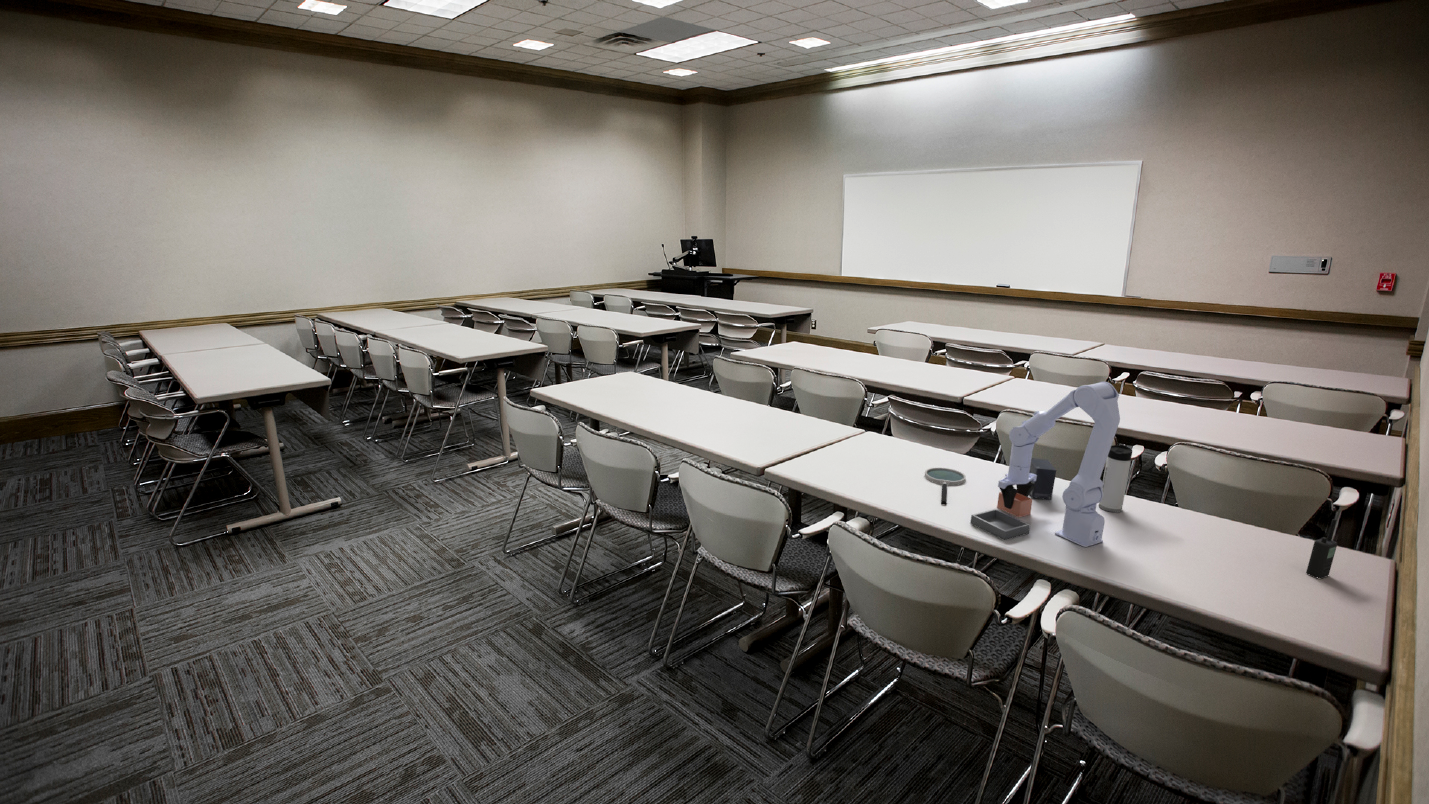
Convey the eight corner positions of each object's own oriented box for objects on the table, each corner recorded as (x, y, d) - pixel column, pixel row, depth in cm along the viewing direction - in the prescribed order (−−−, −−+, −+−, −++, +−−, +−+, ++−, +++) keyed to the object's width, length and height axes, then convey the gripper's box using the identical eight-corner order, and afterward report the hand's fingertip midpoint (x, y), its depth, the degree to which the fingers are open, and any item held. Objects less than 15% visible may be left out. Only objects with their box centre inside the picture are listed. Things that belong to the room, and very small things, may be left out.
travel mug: (1124, 508, 208) (1135, 447, 203) (1118, 514, 204) (1130, 452, 198) (1101, 502, 212) (1112, 442, 207) (1096, 508, 208) (1106, 447, 202)
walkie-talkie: (1319, 579, 167) (1334, 524, 163) (1303, 573, 170) (1318, 518, 166) (1330, 575, 169) (1345, 521, 165) (1314, 569, 172) (1328, 515, 168)
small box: (1053, 500, 213) (1057, 469, 210) (1031, 498, 214) (1035, 468, 212) (1044, 488, 223) (1048, 458, 220) (1023, 486, 224) (1027, 457, 222)
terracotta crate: (1030, 514, 203) (1032, 499, 202) (1019, 517, 201) (1021, 502, 199) (1008, 504, 210) (1010, 489, 208) (997, 507, 207) (999, 492, 206)
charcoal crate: (1028, 534, 190) (1030, 524, 190) (1004, 541, 186) (1005, 531, 185) (994, 518, 201) (995, 508, 200) (970, 524, 196) (971, 514, 196)
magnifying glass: (921, 503, 212) (921, 497, 211) (925, 470, 240) (925, 465, 239) (966, 509, 207) (966, 503, 207) (964, 475, 236) (965, 469, 235)
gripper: (1024, 456, 208) (1019, 497, 211) (992, 463, 201) (986, 505, 205) (1044, 463, 202) (1038, 505, 205) (1011, 471, 195) (1006, 514, 199)
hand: (1014, 506), depth 205 cm, fingers closed on terracotta crate, 5 cm apart
